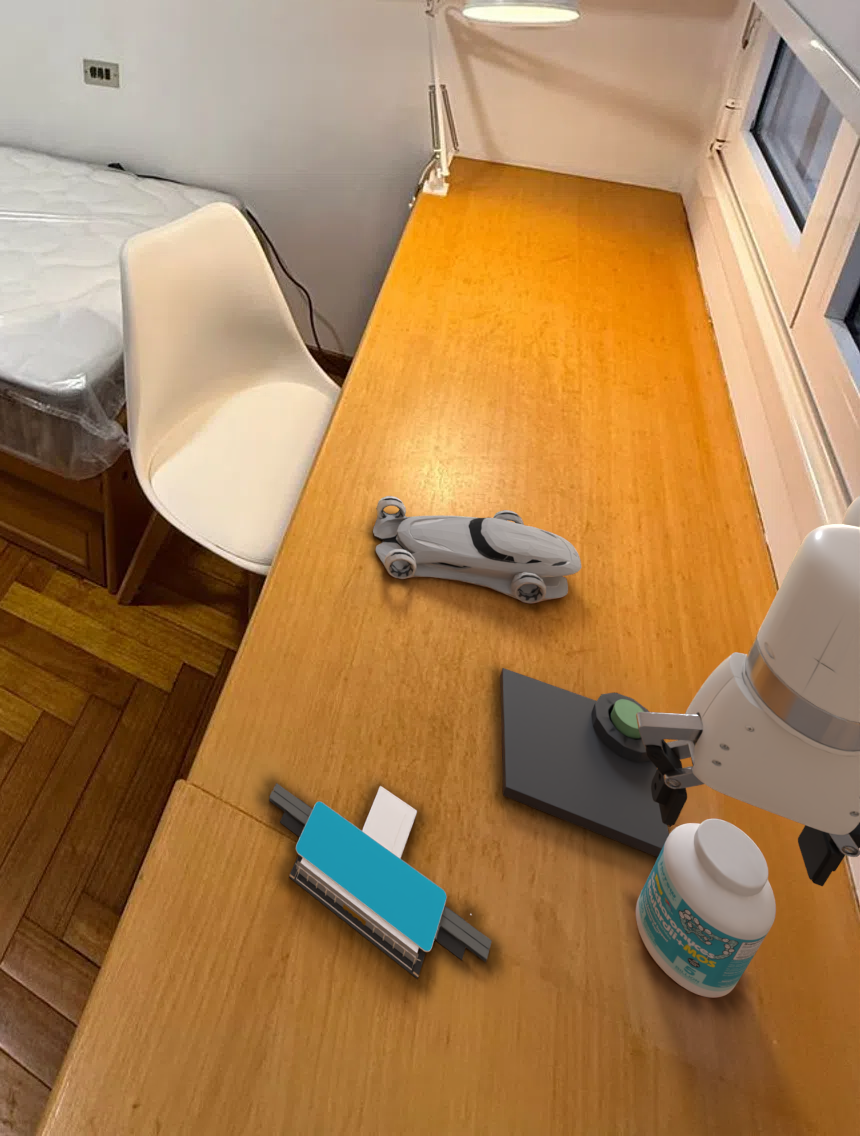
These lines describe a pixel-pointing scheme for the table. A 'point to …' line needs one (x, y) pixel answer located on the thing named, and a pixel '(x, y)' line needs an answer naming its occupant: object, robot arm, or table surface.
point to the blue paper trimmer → (374, 879)
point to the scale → (577, 762)
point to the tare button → (626, 718)
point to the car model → (476, 551)
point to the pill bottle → (706, 906)
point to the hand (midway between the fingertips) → (734, 834)
